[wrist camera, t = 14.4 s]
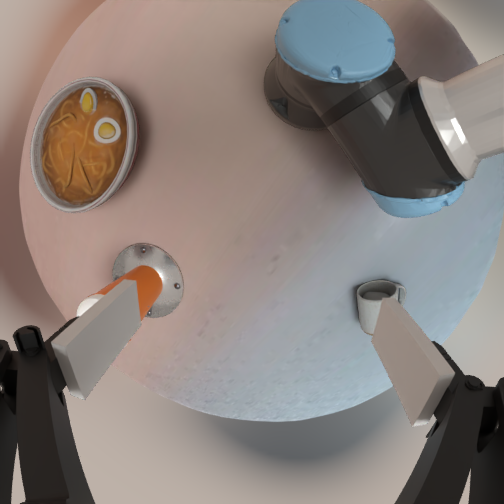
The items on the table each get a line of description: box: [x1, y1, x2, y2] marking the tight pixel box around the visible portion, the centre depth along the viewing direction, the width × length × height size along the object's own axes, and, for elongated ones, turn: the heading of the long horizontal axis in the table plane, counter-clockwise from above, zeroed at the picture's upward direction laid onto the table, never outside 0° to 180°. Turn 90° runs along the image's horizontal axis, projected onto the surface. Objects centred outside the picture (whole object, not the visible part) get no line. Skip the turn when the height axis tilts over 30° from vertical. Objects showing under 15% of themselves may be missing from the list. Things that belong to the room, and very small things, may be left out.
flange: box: [113, 244, 184, 318], centre depth 52 cm, size 15×15×1 cm
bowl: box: [30, 77, 140, 213], centre depth 41 cm, size 23×23×10 cm
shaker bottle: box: [77, 265, 163, 346], centre depth 42 cm, size 9×9×20 cm
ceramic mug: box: [357, 280, 406, 335], centre depth 47 cm, size 11×8×8 cm
